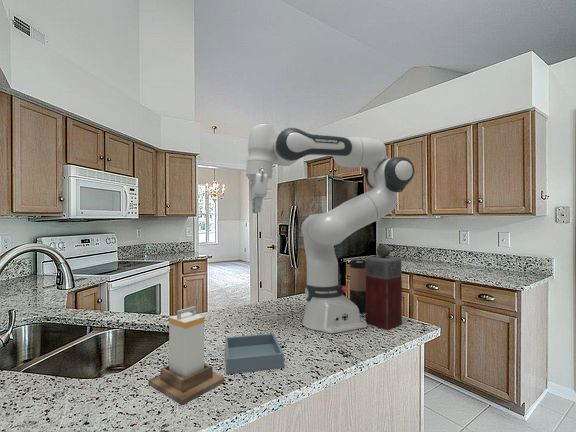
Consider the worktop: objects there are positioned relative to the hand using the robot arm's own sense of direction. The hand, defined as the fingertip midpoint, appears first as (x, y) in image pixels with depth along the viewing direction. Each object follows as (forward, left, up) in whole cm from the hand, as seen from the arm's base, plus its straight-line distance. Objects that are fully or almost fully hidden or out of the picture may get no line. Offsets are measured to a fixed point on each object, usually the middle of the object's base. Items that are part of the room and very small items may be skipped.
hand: (256, 212), depth 104 cm
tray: (+4, +20, -39) cm, 45 cm away
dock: (+20, +29, -39) cm, 53 cm away
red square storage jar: (-46, +3, -40) cm, 61 cm away
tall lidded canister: (+20, +29, -38) cm, 52 cm away
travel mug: (-44, -13, -40) cm, 60 cm away
